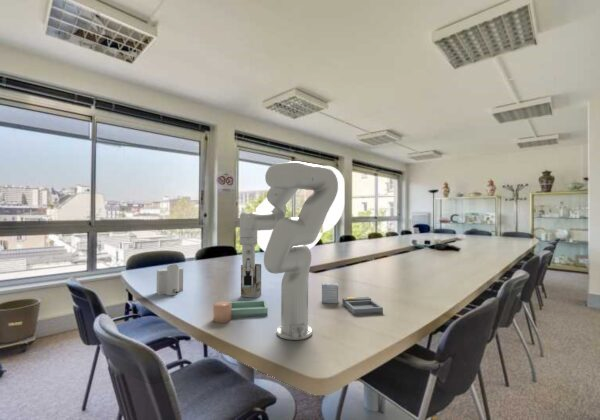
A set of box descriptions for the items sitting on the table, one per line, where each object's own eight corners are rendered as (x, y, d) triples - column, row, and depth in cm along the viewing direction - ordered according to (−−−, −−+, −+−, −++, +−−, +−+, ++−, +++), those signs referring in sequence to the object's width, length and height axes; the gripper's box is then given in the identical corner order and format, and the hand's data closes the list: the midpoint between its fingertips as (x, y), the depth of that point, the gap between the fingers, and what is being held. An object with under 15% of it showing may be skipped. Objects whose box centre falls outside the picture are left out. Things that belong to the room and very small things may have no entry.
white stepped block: (180, 289, 161) (180, 262, 161) (188, 294, 150) (189, 265, 150) (156, 292, 153) (156, 264, 153) (163, 299, 142) (164, 268, 142)
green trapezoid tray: (267, 315, 120) (267, 308, 120) (227, 317, 117) (227, 310, 117) (265, 307, 131) (265, 300, 131) (229, 308, 128) (229, 302, 128)
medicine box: (338, 301, 141) (338, 283, 141) (338, 303, 137) (338, 285, 137) (321, 300, 142) (321, 282, 142) (321, 303, 137) (321, 284, 138)
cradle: (382, 313, 123) (382, 305, 123) (353, 315, 121) (353, 307, 121) (368, 303, 138) (368, 296, 138) (342, 304, 135) (342, 297, 135)
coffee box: (261, 294, 151) (262, 263, 151) (256, 298, 145) (256, 266, 145) (246, 293, 153) (246, 263, 154) (240, 296, 147) (240, 264, 147)
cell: (252, 288, 123) (253, 268, 123) (242, 289, 122) (242, 268, 122) (252, 286, 127) (252, 266, 127) (242, 286, 126) (242, 267, 126)
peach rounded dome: (231, 322, 112) (231, 306, 113) (212, 323, 111) (212, 307, 111) (231, 315, 119) (231, 301, 119) (214, 316, 118) (214, 302, 118)
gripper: (258, 243, 117) (257, 288, 117) (256, 239, 133) (255, 278, 133) (239, 243, 116) (238, 289, 115) (239, 239, 132) (239, 279, 132)
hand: (247, 283), depth 124 cm, fingers closed on cell, 4 cm apart
